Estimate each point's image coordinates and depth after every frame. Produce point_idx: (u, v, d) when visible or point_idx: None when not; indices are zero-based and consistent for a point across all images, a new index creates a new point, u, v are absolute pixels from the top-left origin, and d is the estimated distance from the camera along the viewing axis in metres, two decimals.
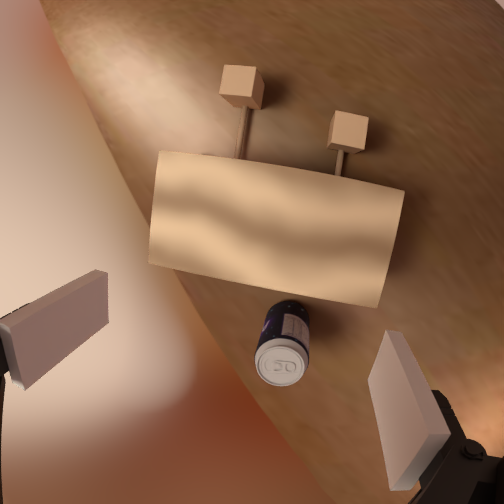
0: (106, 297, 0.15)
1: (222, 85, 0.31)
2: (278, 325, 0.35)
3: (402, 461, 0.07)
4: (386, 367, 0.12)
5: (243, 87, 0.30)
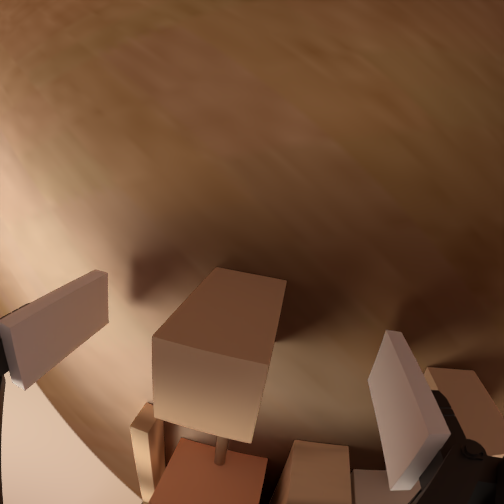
0: (106, 297, 0.15)
1: (158, 399, 0.09)
2: None
3: (402, 461, 0.07)
4: (386, 367, 0.12)
5: (225, 418, 0.09)
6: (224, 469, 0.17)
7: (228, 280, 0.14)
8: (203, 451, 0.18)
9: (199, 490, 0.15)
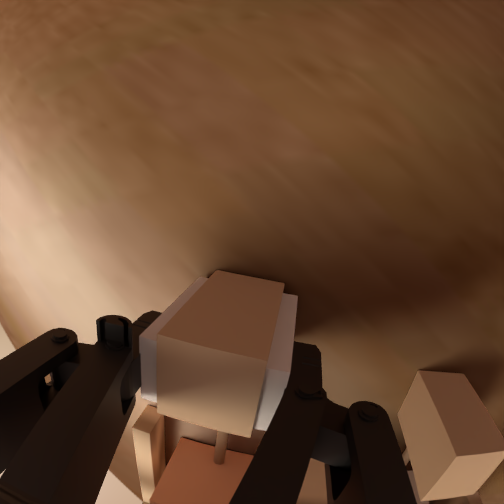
0: None
1: (161, 395, 0.10)
2: None
3: None
4: None
5: (225, 413, 0.10)
6: (223, 468, 0.17)
7: (228, 282, 0.15)
8: (202, 451, 0.19)
9: (199, 488, 0.15)
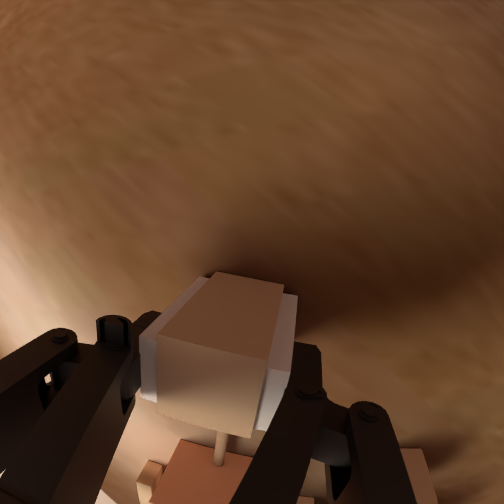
0: None
1: (161, 395, 0.10)
2: None
3: None
4: None
5: (225, 413, 0.10)
6: (223, 470, 0.17)
7: (228, 284, 0.15)
8: (202, 453, 0.18)
9: (198, 490, 0.15)
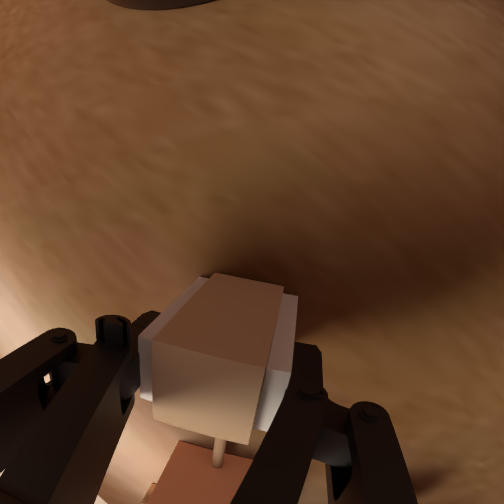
0: None
1: (157, 401, 0.10)
2: None
3: None
4: None
5: (222, 420, 0.09)
6: (221, 471, 0.17)
7: (226, 285, 0.14)
8: (200, 454, 0.18)
9: (197, 492, 0.15)
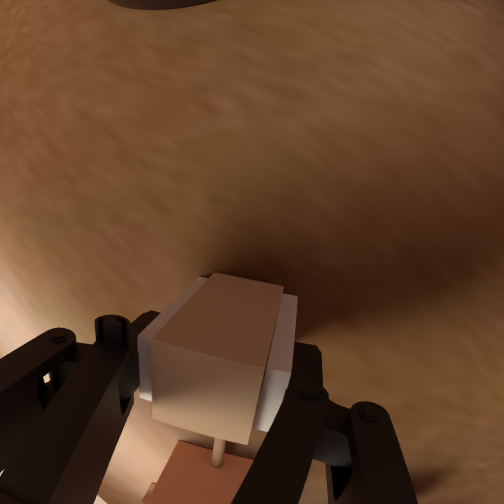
0: None
1: (157, 400, 0.10)
2: None
3: None
4: None
5: (222, 420, 0.09)
6: (221, 471, 0.17)
7: (226, 285, 0.14)
8: (200, 454, 0.18)
9: (196, 492, 0.15)
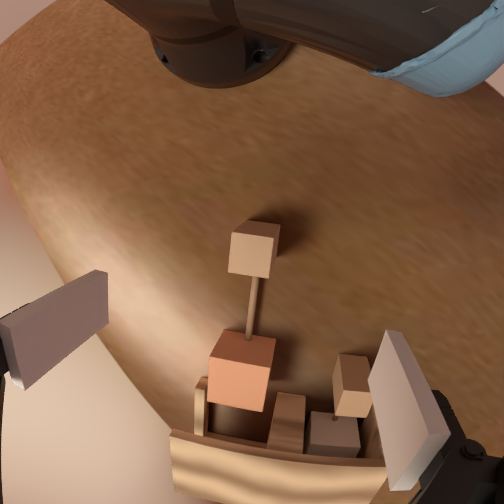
0: (106, 297, 0.15)
1: (231, 261, 0.27)
2: None
3: (402, 461, 0.07)
4: (386, 367, 0.12)
5: (258, 265, 0.27)
6: (251, 342, 0.34)
7: (254, 223, 0.32)
8: (237, 335, 0.35)
9: (238, 350, 0.32)
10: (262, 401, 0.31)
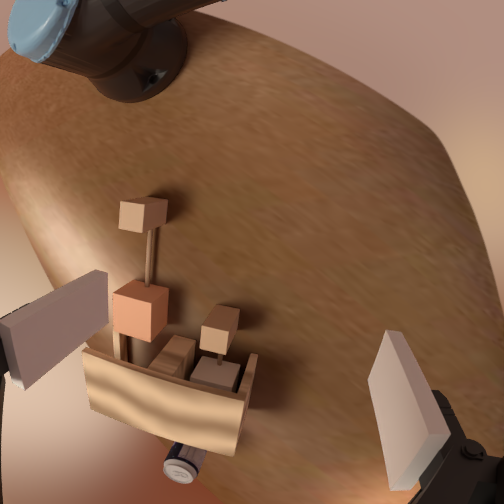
0: (106, 297, 0.15)
1: (120, 221, 0.37)
2: (179, 446, 0.44)
3: (402, 461, 0.07)
4: (386, 367, 0.12)
5: (135, 224, 0.37)
6: (148, 288, 0.45)
7: (147, 198, 0.42)
8: (141, 283, 0.46)
9: (135, 292, 0.43)
10: (149, 332, 0.42)
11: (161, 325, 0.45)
